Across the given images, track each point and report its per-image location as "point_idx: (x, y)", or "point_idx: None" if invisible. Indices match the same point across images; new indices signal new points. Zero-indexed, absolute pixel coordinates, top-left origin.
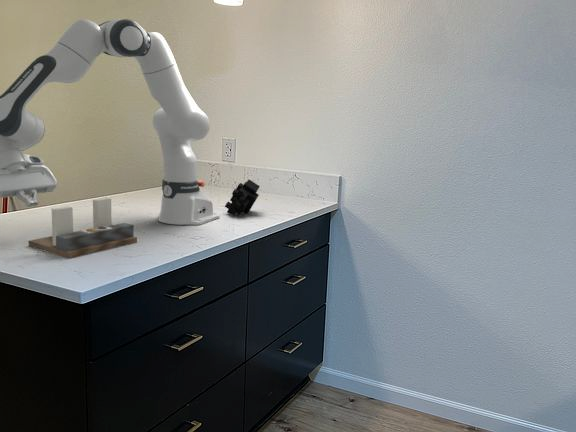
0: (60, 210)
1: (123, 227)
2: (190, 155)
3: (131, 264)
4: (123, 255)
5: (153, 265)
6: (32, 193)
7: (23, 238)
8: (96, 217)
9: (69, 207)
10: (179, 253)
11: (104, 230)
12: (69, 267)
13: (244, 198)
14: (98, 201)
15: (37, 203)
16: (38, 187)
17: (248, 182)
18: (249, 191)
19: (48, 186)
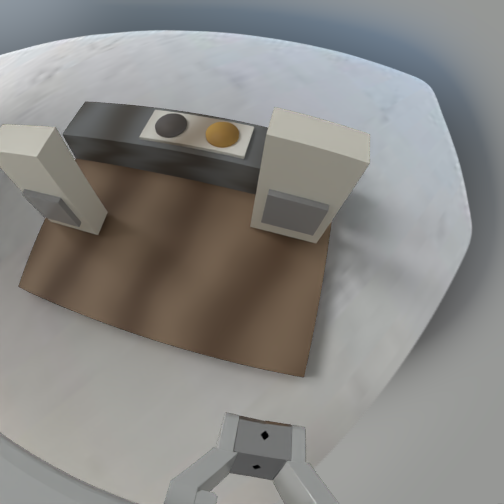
0: (344, 130)
1: (120, 104)
2: None
3: (285, 63)
4: (235, 92)
5: (267, 41)
6: (211, 497)
7: None
8: (82, 183)
9: (285, 115)
10: (170, 40)
11: (186, 115)
12: (379, 138)
13: None
14: (52, 129)
15: (233, 414)
16: (127, 500)
17: None
18: None
19: (26, 450)
